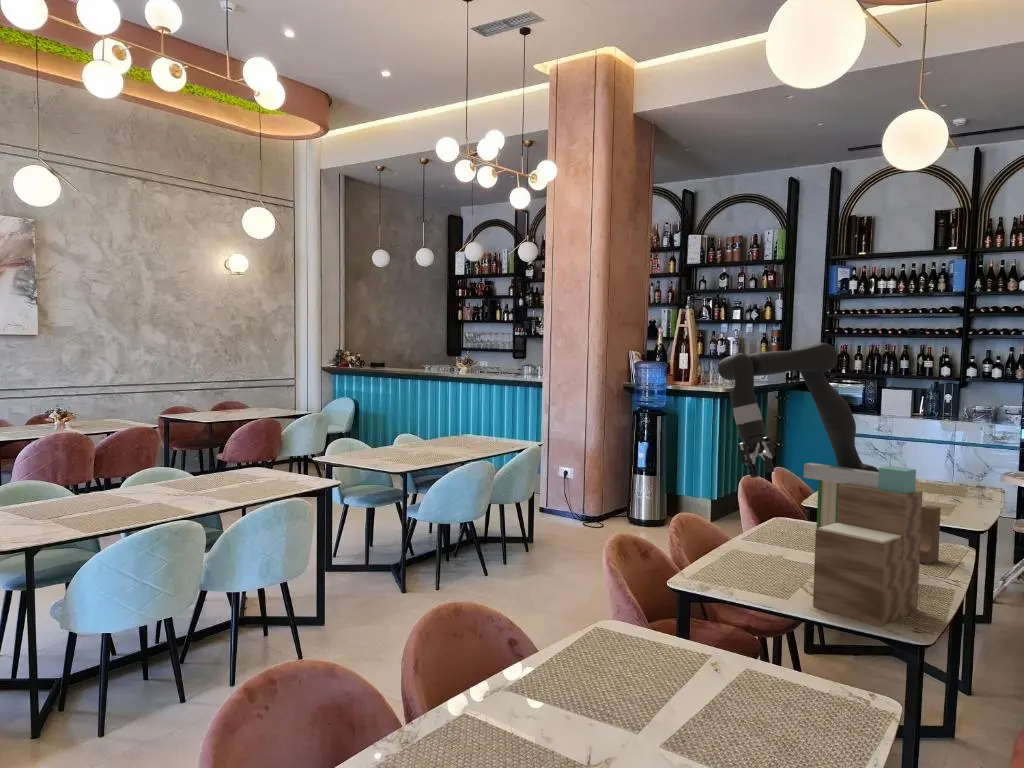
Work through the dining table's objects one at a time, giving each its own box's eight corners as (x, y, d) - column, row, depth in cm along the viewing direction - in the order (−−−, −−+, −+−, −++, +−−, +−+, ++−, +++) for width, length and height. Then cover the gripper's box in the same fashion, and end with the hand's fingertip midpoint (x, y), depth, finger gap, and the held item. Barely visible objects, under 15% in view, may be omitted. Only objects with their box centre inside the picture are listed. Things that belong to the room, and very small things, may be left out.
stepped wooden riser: (851, 591, 212) (855, 481, 211) (917, 609, 198) (922, 491, 196) (812, 606, 199) (817, 489, 198) (880, 626, 185) (885, 500, 183)
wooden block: (927, 565, 240) (929, 510, 239) (912, 561, 244) (914, 507, 243) (938, 560, 246) (941, 507, 245) (924, 557, 249) (926, 504, 248)
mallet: (812, 475, 219) (813, 455, 218) (915, 491, 196) (916, 469, 196) (801, 477, 215) (802, 457, 215) (904, 494, 192) (905, 471, 192)
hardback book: (837, 544, 264) (839, 478, 263) (816, 540, 269) (818, 475, 268) (853, 535, 277) (855, 472, 276) (833, 532, 282) (835, 470, 281)
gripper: (751, 420, 225) (764, 472, 223) (724, 426, 216) (738, 480, 214) (773, 415, 219) (787, 469, 217) (746, 421, 210) (760, 477, 208)
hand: (762, 474), depth 215 cm, fingers open, 8 cm apart
